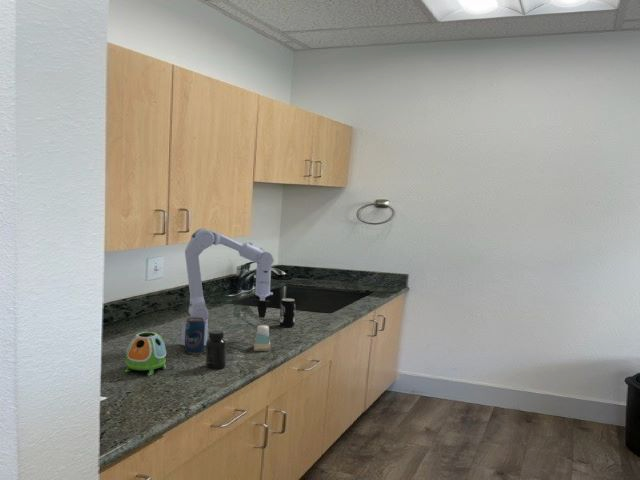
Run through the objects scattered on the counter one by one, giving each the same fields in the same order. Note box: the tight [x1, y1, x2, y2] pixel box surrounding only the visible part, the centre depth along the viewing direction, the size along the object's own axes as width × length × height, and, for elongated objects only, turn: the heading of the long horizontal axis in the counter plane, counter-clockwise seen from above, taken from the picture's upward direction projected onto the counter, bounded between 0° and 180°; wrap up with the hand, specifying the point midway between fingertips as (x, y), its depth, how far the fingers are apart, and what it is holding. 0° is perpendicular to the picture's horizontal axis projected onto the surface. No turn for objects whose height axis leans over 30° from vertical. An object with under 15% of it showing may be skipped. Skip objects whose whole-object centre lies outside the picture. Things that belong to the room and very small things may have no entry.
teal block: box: [255, 332, 270, 344], centre depth 225 cm, size 5×5×3 cm
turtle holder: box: [125, 331, 167, 377], centre depth 195 cm, size 12×18×12 cm
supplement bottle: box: [205, 329, 227, 370], centre depth 200 cm, size 7×7×12 cm
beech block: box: [253, 339, 271, 352], centre depth 226 cm, size 6×6×3 cm
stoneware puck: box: [256, 324, 270, 336], centre depth 225 cm, size 4×4×3 cm
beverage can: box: [279, 297, 296, 328], centre depth 264 cm, size 7×7×12 cm
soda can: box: [184, 317, 205, 355], centre depth 217 cm, size 7×7×12 cm
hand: (261, 315), depth 235 cm, fingers open, 7 cm apart
